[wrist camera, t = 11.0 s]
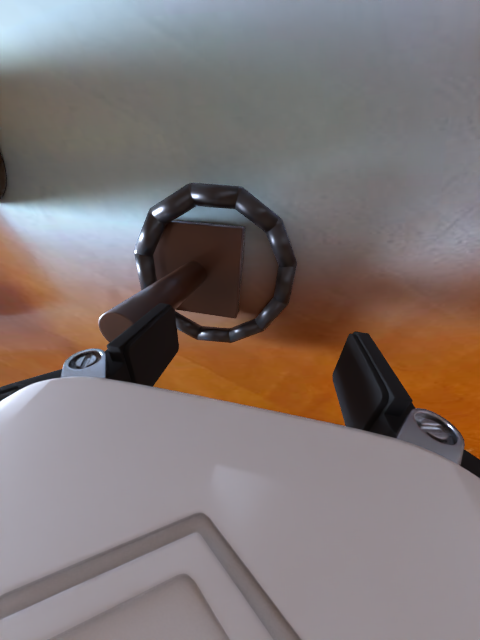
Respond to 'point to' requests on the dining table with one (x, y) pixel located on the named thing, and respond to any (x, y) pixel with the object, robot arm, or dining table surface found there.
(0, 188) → the olive oil
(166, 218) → the ring
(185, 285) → the peg
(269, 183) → the dining table surface
